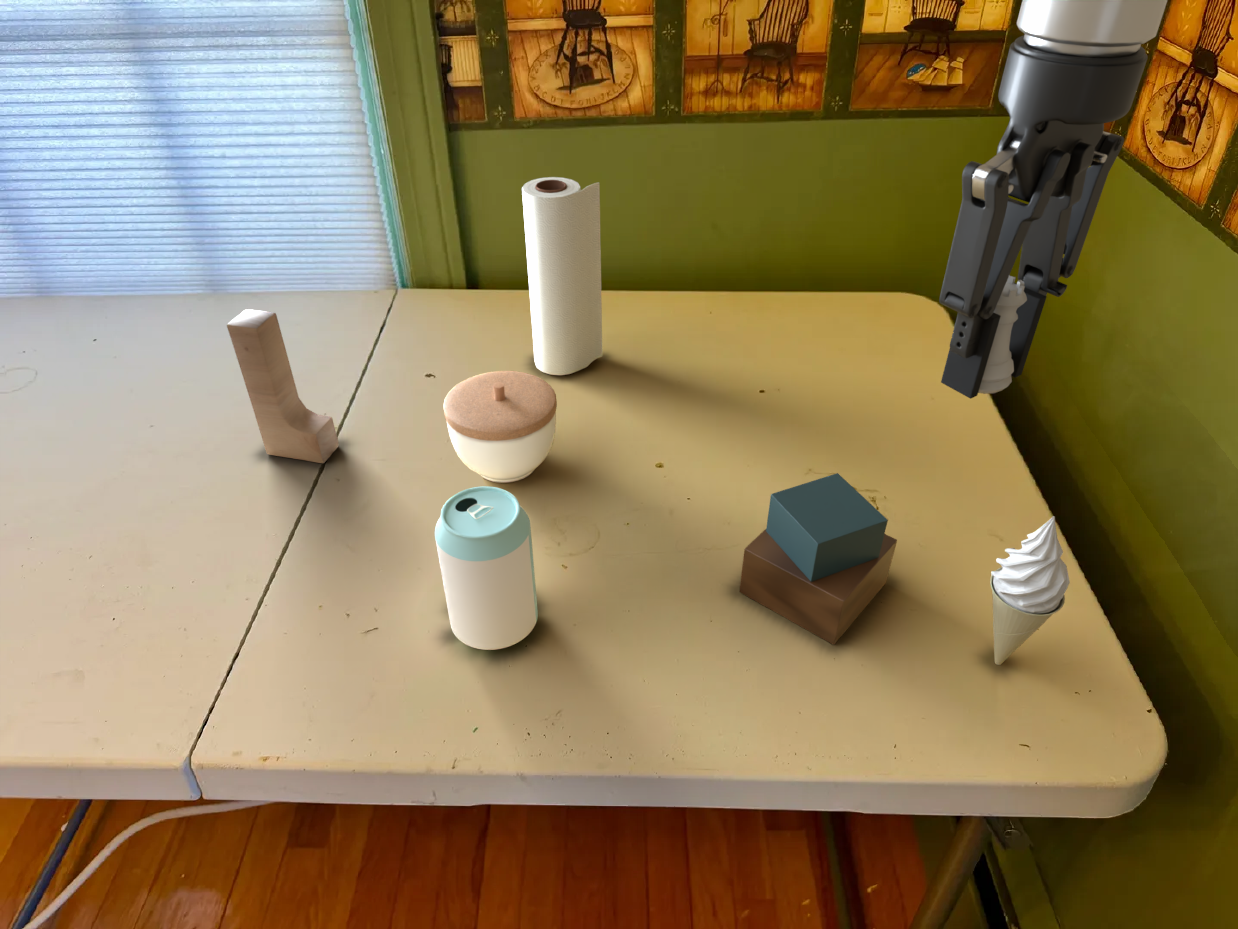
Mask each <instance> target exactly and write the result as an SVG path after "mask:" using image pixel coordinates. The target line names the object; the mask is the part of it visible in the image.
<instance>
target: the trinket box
mask: <svg viewBox="0 0 1238 929" xmlns="http://www.w3.org/2000/svg"><path fill="white" fill-rule="evenodd" d="M557 402H558V400H557V394H556V392H555V389H554V388H553V387H552V386H551V384H549V383H548V382H547V381H546V380H544V379H543V378H541V377H539V376H537V375H534V374H531V373H527V372H522V371H515V370H495V371H488V372H483V373H479V374H476V375H473V376H470V377H467V378H466V379H463V380H462V381H460V382H459V383H457V384H455V385H454V386H453V387H452V388H451V389H450V390H449V391H448V392H447V394H446V396H445V397H444V401H443V406H442V409H443V414H444V419H445V421H446V426H447V430H448V431H447V432H448V435H449V439H450V442H451V444H452V448H453V449H454V451H455V453H456V455H457V456H458V458H459V459H460V461H461V462H462V463H463V464H464V465H465V466H466V467H467V468H468V469H470V470H471V471H473V472H474V473H476V474H478V475H479V476H480V477H481V478H483V479H484V480H486V481H490V482H493V483H500V484H501V483H502V484H503V483H504V484H505V483H508V484H509V483H513V482H518V481H521V480H523V479H525V478H527V477H529V476H530V475H531V474H532V473H533V472H534V471H535V470H536V469H537V468H538V467H539V466H540V465H541V464H542V463H543V462H544V461H545V459H546V458H547V457H548V455H549V454H550V451H551V450H552V447H553V444H554V440H555V436H556V429H557V406H558V403H557Z"/></svg>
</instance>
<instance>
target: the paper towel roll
mask: <svg viewBox="0 0 1238 929" xmlns="http://www.w3.org/2000/svg"><path fill="white" fill-rule="evenodd" d="M600 194H601V192H600V182H599V181H598V182H594V183H592V184H589V185H587V186H585V187H584V188H582V189H581V185H580V184H579V182H578V181H576V180H574V179H571V178H568V177H567V178H566V177H558V176H549V177H548V176H547V177H539V178H534V179H531V180H528V181H527V182H526V183H524V184H523V186H521V195H522V206H523V207H522V209H523V222H524V234H525V235H524V237H525V250H526V265H527V276H528V278H527V279H528V291H529V303H530V304H529V305H530V319H531V329H532V330H531V332H532V345H533V346H532V347H533V360H534V364H535V367H536V369H538V370H539V371H540V372H542V373H544V374H547V375H552V376H565V375H570V374H573V373H577V372H579V371H581V370H583V369H586V368H587V367H589V365H590V364H591V363H593V362H594V361H595V360H598V359H599V358H602V357H603V356H604V355H603V354H604V353H603V306H602V305H603V303H602V302H603V301H602V254H601V253H602V252H601V250H602V247H601V245H602V244H601V197H600V196H601V195H600Z"/></svg>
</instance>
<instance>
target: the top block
mask: <svg viewBox="0 0 1238 929" xmlns="http://www.w3.org/2000/svg"><path fill="white" fill-rule="evenodd" d="M768 506H769V507H768V514H767V520H766V527H765V529H766V532H767V533H768V534H769V535H770V536H771V537H772V538H773V540H774V541H775V542H776V543H777V544H778V545H779V546H780V547H781V549H782V550H783V551H784V552H785V553H786V554H787V555H788V556H789V558H790V559H791V560H792V561H793V562H794V563H795V564H796V566H797V567H798V568H799V569H800V570H801V571H802V572H803V573H804V575H805V576H806V577H807V578H808V579H809V580H810V581H811V582H812V581H815V580H818V579H820V578H823V577H826V576H829V575H832V574H834V573H837V572H840V571H843V570H845V569H848V568H851V567H854V566H856V565H859V564H862V563H865V562H868V561H870V560H873V559H876V558H878V557H879V554H880V550H881V546H882V542H883V538H884V534H886V530H887V525H888V521H889V519H887V517H885V516H884V515H883V514H882V513H881V512H880V511H879V510H878V509H877V508H876V507H875V506H874V505H872V503H870V502H869V501H868V500H867V499H866V498H865V497H864V496H863V495H862V494H861V493H859V491H857V489H855V488H854V487H853V486H852V485H851V484H850V483H849V482H848V481H847V480H846V479H845V478H844V477H843V476H842V475H840V473H838V472H836V473H832V474H830V475H827V476H823V477H821V478H817V479H815V480H811V481H808V482H805V483H801V484H799V485H795V486H792V487H789V488H786V489H781V490H778V491H776V492H774V493H770V498H769V504H768Z"/></svg>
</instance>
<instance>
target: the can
mask: <svg viewBox="0 0 1238 929" xmlns="http://www.w3.org/2000/svg"><path fill="white" fill-rule="evenodd" d="M531 528H532V527H531V520H530V517H529V515H528V513H527V511H526V510H525V509H524V508H523V507H522V506H521V505H520V502H519V500H518V498H517V497H516V496H515V495H514V494H512V493H511V492H510V491H508V490H506V489H503V488H500V487H496V486H487V485H483V486H482V485H481V486H473V487H469V488H466V489H463V490H461V491H459V492H457V493H455V494H453V495H452V496H451V497H450V498H448V499H447V500H446V501H445V503H444V504H443V505H442V507H441V510H440V517H439V518H438V520H437V522H436V524H435V527H434V539H435V545H436V550H437V557H438V562H439V568H440V574H441V578H442V579H441V580H442V584H443V591H444V596H445V601H446V602H445V603H446V607H447V612H448V613H447V614H448V618H449V623H450V628H451V631H452V633H453V634H454V636H455V638H456V639H458V640H459V641H460V642H461V643H462V644H464V645H466V646H468V647H471V648H474V649H478V650H484V651H485V650H488V651H491V650H501V649H506V648H508V647H511V646H513V645H515V644H517V643H519V642H521V641H522V640H524V639H525V638H526V637H527V636H529V635H530V633H531V632H532V631H533V629H534V628H535V626H536V624H537V622H538V617H539V609H538V598H537V586H536V574H535V573H536V572H535V564H534V563H535V562H534V551H533V541H532V529H531Z"/></svg>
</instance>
